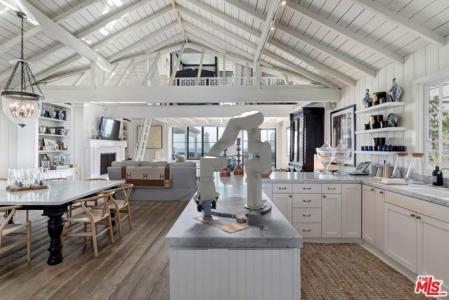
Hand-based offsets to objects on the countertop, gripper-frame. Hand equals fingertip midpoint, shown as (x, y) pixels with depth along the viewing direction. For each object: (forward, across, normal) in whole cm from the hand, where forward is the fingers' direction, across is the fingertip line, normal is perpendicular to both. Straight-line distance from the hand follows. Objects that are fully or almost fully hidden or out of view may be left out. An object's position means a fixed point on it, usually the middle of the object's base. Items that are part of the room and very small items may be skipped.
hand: (206, 210), depth 149 cm
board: (+5, 0, +10) cm, 11 cm away
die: (+5, -14, +22) cm, 27 cm away
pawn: (+4, 0, 0) cm, 5 cm away
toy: (+5, -17, -22) cm, 28 cm away
